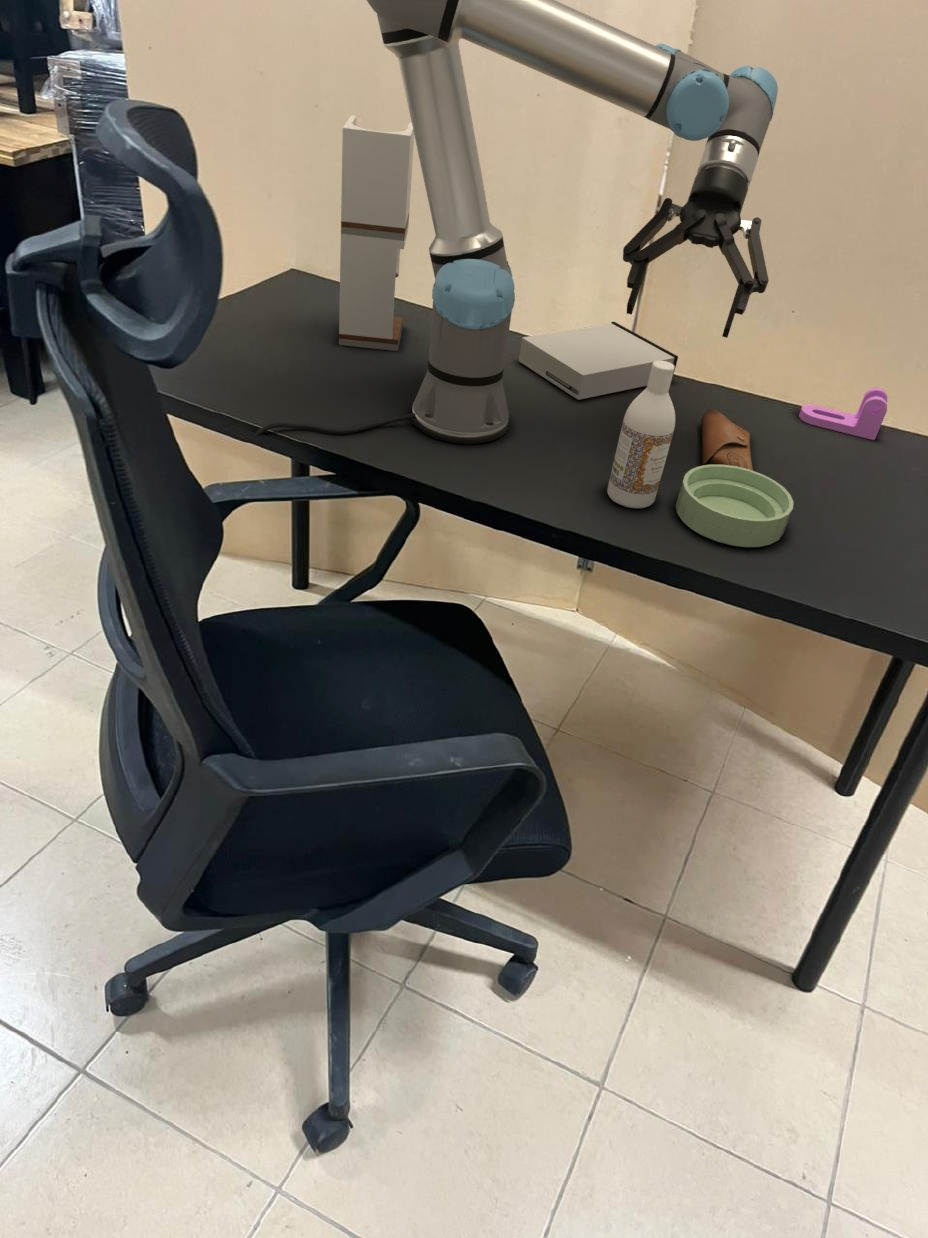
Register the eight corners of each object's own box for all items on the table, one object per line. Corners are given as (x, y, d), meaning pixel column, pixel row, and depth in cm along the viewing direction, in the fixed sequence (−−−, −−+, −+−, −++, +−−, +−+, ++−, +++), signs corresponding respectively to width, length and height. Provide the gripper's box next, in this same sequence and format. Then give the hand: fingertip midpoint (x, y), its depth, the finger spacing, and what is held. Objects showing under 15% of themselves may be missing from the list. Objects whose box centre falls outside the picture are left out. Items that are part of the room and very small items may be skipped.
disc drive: (672, 382, 164) (679, 355, 161) (578, 401, 153) (584, 373, 150) (609, 346, 175) (614, 321, 172) (517, 362, 164) (521, 335, 161)
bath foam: (628, 514, 125) (662, 378, 113) (596, 490, 129) (626, 357, 117) (664, 504, 128) (701, 371, 116) (632, 481, 133) (665, 351, 120)
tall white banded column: (397, 350, 162) (410, 135, 141) (338, 344, 162) (342, 127, 140) (402, 328, 171) (414, 122, 150) (346, 322, 171) (351, 114, 149)
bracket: (875, 427, 158) (890, 390, 153) (874, 440, 153) (890, 402, 149) (800, 409, 161) (813, 372, 156) (797, 421, 156) (811, 383, 152)
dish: (681, 540, 121) (690, 512, 118) (669, 485, 133) (677, 458, 130) (793, 555, 121) (804, 527, 118) (771, 498, 133) (781, 471, 130)
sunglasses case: (758, 483, 135) (746, 444, 132) (711, 496, 138) (699, 459, 135) (750, 432, 149) (739, 396, 146) (707, 445, 152) (696, 410, 149)
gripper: (636, 145, 124) (589, 286, 122) (818, 183, 119) (772, 330, 118) (634, 178, 131) (590, 312, 130) (806, 215, 127) (762, 354, 125)
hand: (677, 321), depth 124 cm, fingers open, 13 cm apart
